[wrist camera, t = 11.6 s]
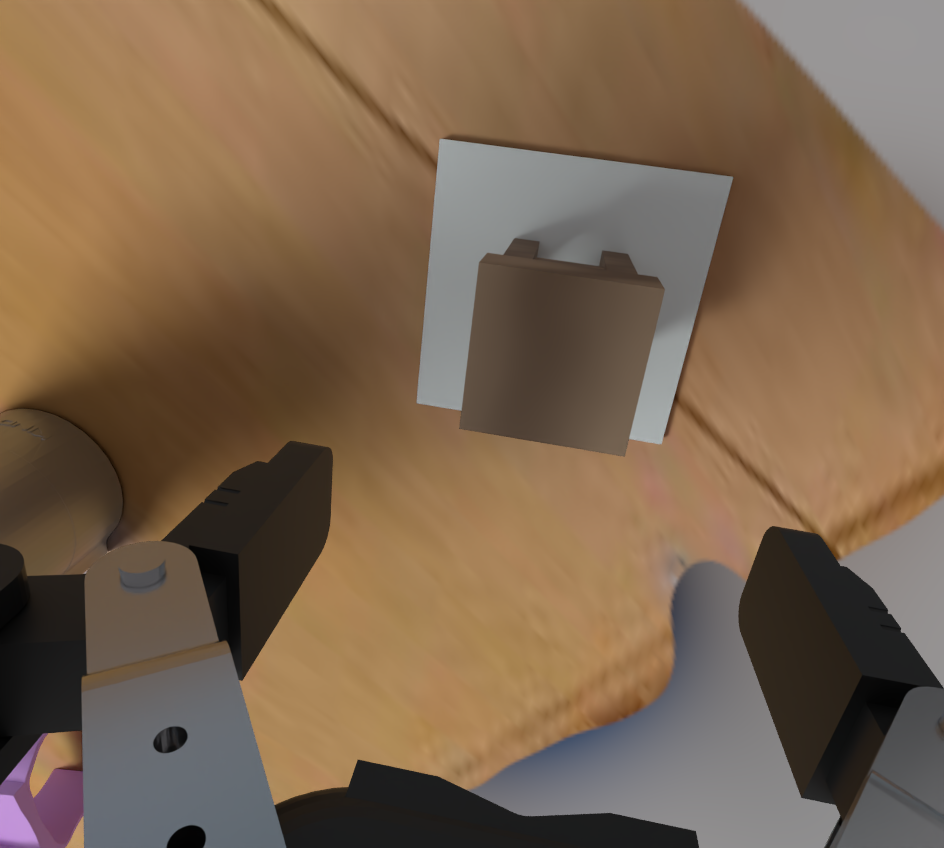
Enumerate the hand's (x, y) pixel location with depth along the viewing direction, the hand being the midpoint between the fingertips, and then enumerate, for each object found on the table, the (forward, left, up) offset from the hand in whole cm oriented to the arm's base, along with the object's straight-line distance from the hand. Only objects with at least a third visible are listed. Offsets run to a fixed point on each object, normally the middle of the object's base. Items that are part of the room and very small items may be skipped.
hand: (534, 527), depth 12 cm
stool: (0, 0, -18) cm, 18 cm away
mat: (0, 0, -19) cm, 19 cm away
